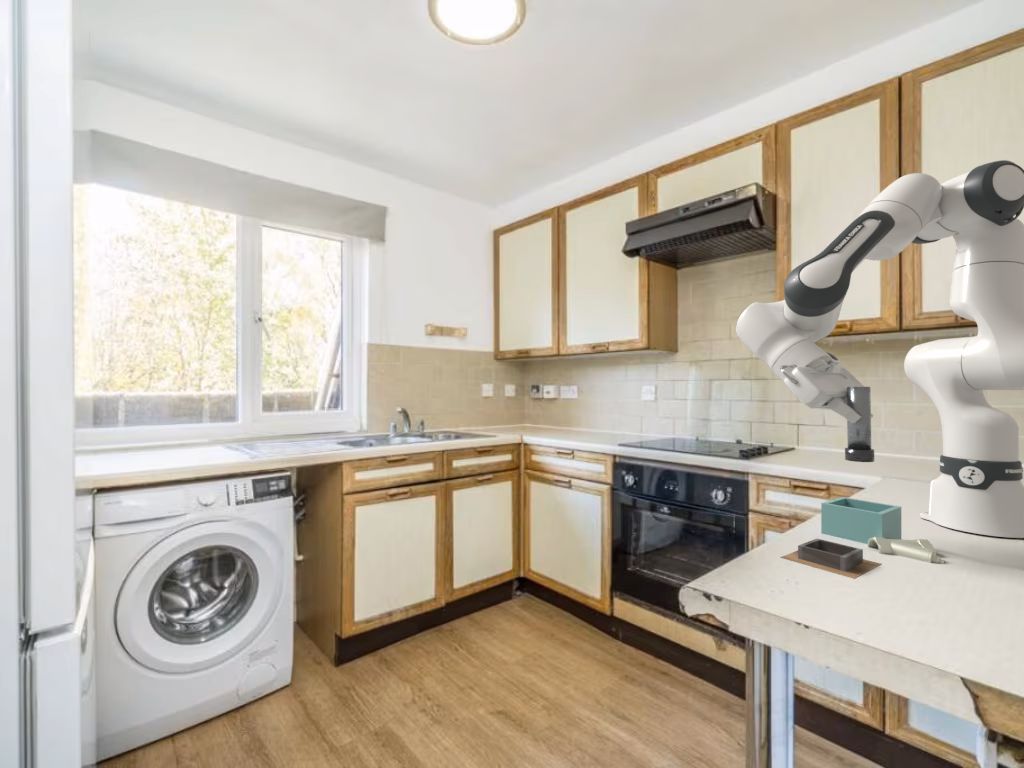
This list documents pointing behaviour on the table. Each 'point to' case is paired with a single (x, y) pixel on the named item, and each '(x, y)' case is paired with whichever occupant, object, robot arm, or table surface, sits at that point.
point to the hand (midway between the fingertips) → (863, 419)
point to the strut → (859, 426)
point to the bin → (860, 519)
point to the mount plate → (832, 558)
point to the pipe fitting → (906, 548)
